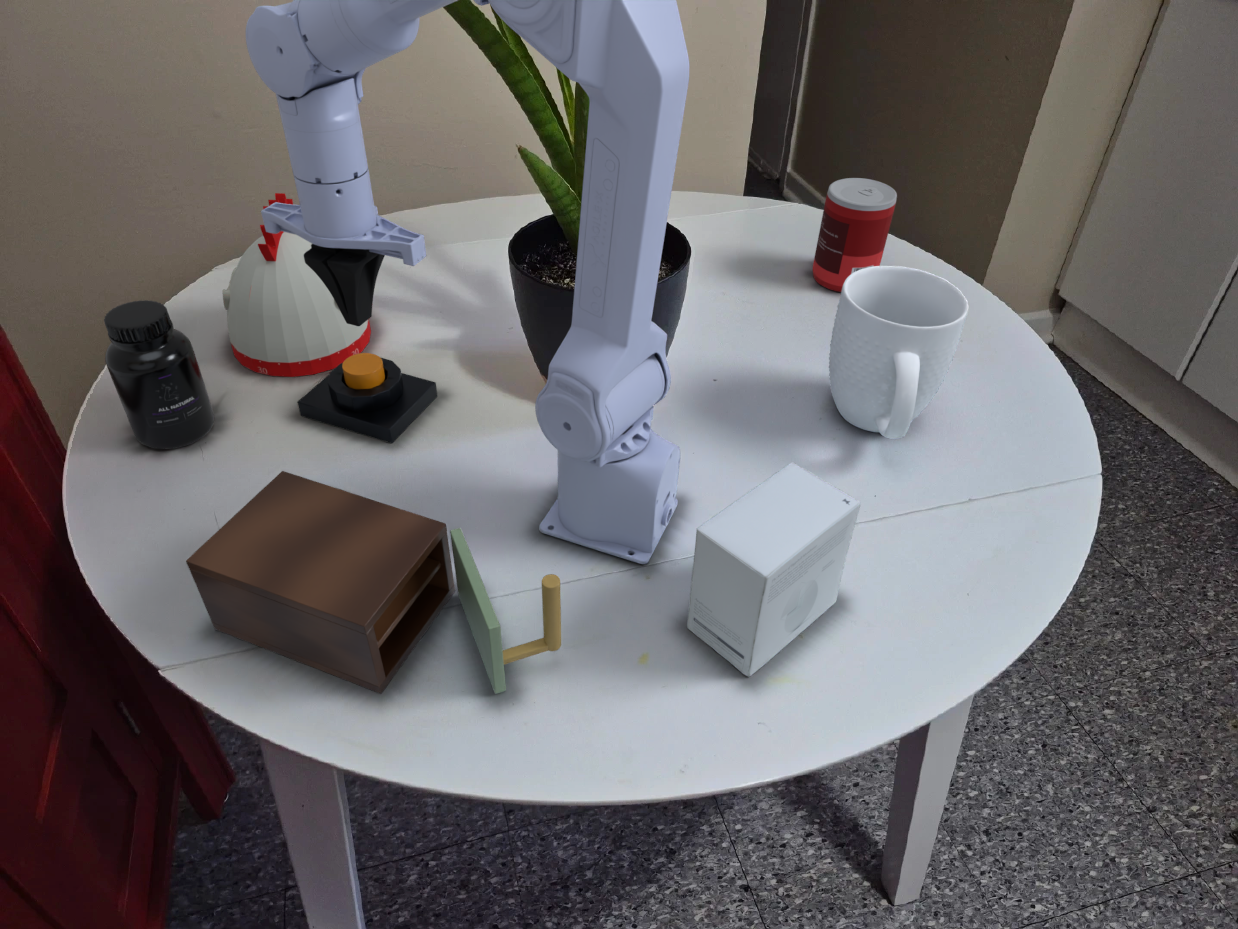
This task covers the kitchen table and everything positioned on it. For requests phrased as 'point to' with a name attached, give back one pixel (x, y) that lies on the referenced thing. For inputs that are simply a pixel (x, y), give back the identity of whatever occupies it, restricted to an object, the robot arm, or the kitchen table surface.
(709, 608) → the cosmetics box
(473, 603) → the shelf door
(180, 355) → the supplement bottle
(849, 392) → the mug
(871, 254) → the canned food
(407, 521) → the shelf cabinet
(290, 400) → the kitchen table surface
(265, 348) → the kitchen timer
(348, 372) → the button
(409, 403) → the switch box
